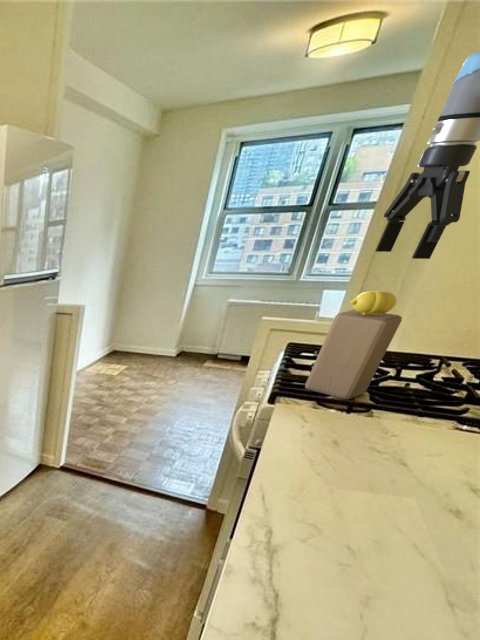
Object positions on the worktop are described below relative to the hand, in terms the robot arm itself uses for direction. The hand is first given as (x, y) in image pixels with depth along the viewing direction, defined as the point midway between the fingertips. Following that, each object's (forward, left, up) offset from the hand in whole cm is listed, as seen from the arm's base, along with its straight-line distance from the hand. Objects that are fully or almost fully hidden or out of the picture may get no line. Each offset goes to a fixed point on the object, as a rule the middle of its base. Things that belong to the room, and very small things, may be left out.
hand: (400, 255), depth 110 cm
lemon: (+1, 0, -13) cm, 13 cm away
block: (+1, 0, -34) cm, 34 cm away
